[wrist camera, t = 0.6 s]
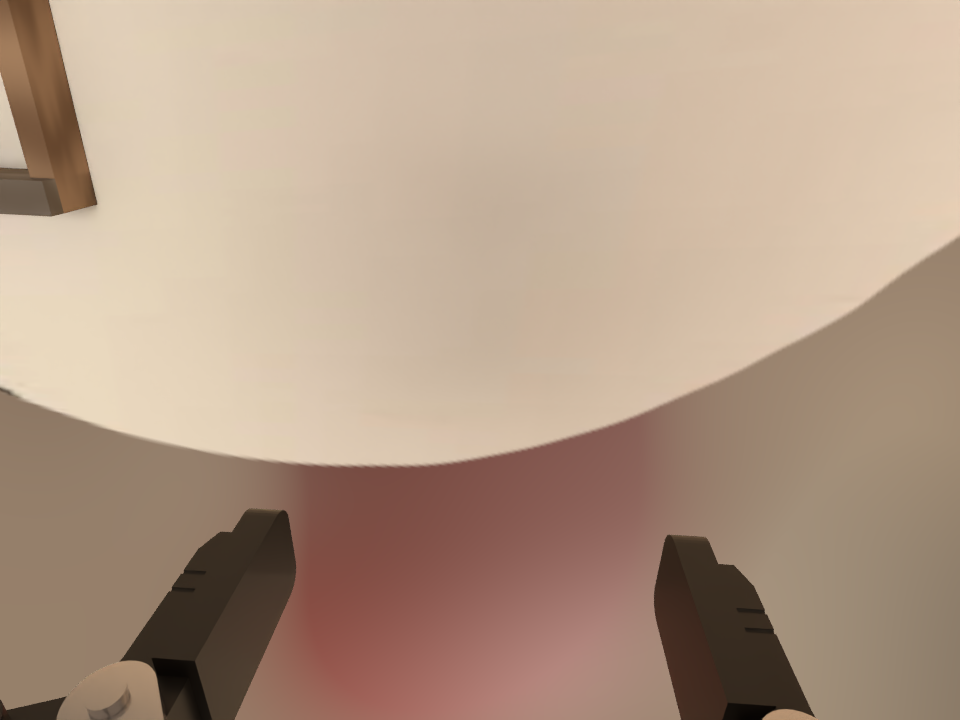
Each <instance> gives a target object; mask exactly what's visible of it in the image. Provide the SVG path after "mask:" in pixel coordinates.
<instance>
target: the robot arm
mask: <svg viewBox="0 0 960 720" xmlns="http://www.w3.org/2000/svg"><path fill="white" fill-rule="evenodd" d="M295 575H296V561H295V555H294V548H293V542H292V537H291V530H290V523H289V518H288V514H287V512H286V511H284V510H269V509H253V508H251V509H248V510H247V511H246V512H245V513H244V514H243V516H242V517H241V519H240V521H239V522H238V524H237V525H236V527H235V528H234V530H233V532H220V533H218V534H217V535H216V536H214V537H213V538H212V539H210V540H209V541H208V542H207V543H205V544H204V545H203V546H202V547H200V548H199V549H198V550H197V552H196V553H195V555H194V556H193V558H192V559H191V560H190V562H189V563H188V565H187V566H186V568H185V569H184V573H183V574H181V575H180V576H179V578H178V579H177V581H176V582H175V583H174V585H173V586H172V591H171V592H170V591H169V592H168V593H167V595H166V597H165V598H164V600H163V601H162V602H161V604H160V605H159V606H158V608H157V609H156V611H155V612H154V614H153V615H152V617H151V618H150V620H149V621H148V622H147V624H146V625H145V627H144V628H143V630H142V631H141V632H140V634H139V635H138V637H137V638H136V640H135V641H134V643H133V644H132V645H131V647H130V648H129V650H128V651H127V653H126V654H125V655H124V657H123V658H122V659H121V661H120V662H118V663H113V664H111V665H108V666H106V667H103V668H101V669H99V670H97V671H96V672H94V673H92V674H91V675H89V676H88V677H86V678H85V679H84V680H82V681H81V682H80V683H79V684H78V685H77V686H76V687H75V688H74V689H73V690H72V691H71V692H70V693H69V694H68V696H66V697H63V698H59V699H55V700H51V701H46V702H41V703H37V704H33V705H29V706H24V707H19V708H15V709H11V710H6V709H5V707H4V705H3V703H2V701H1V700H0V720H234V719H235V717H236V715H237V712H238V710H239V708H240V706H241V703H242V701H243V699H244V696H245V695H246V692H247V690H248V688H249V686H250V684H251V681H252V679H253V677H254V675H255V672H256V670H257V668H258V666H259V664H260V661H261V659H262V657H263V655H264V653H265V650H266V648H267V646H268V644H269V641H270V639H271V637H272V635H273V633H274V630H275V628H276V626H277V624H278V621H279V619H280V617H281V615H282V613H283V610H284V608H285V606H286V604H287V601H288V599H289V597H290V595H291V592H292V589H293V586H294V581H295ZM654 608H655V616H656V621H657V625H658V629H659V633H660V637H661V641H662V645H663V649H664V653H665V656H666V661H667V665H668V669H669V673H670V677H671V681H672V685H673V688H674V693H675V697H676V701H677V705H678V709H679V713H680V716H681V720H818V719H816V718H815V716H814V714H813V712H812V711H811V709H810V707H809V705H808V702H807V700H806V698H805V696H804V694H803V692H802V690H801V687H800V685H799V683H798V681H797V678H796V676H795V674H794V672H793V670H792V668H791V666H790V663H789V661H788V659H787V657H786V655H785V653H784V650H783V648H782V646H781V644H780V642H779V640H778V637H777V636H776V635H775V634H774V629H773V627H772V625H771V622H770V620H769V618H768V616H767V615H766V614H765V612H764V611H765V610H764V608H763V605H762V603H761V601H760V599H759V596H758V594H757V592H756V590H755V588H754V586H753V585H752V584H751V583H750V582H749V581H748V580H747V579H746V577H745V576H744V575H742V573H741V572H740V571H739V570H738V569H737V568H736V567H735V566H734V565H723V564H718V563H717V560H716V558H715V555H714V553H713V550H712V548H711V546H710V543H709V541H708V540H707V538H705V537H697V536H681V535H667V537H666V539H665V542H664V547H663V551H662V556H661V561H660V566H659V570H658V575H657V580H656V585H655V591H654Z"/></svg>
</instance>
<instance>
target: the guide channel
mask: <svg viewBox="0 0 960 720" xmlns="http://www.w3.org/2000/svg"><path fill="white" fill-rule="evenodd" d="M0 72H1V76H2V79H3V83H4V87H5V90H6V94H7V97H8V101H9V104H10V108H11V111H12V115H13V118H14V122H15V125H16V129H17V133H18V136H19V140H20V143H21V147H22V150H23V154H24V157H25V161H26V164H27V168H28V169H12V168H0V214H16V215H35V216H55V215H59V214H63V213H66V212H70V211H74V210H78V209H82V208H85V207H89V206H93V205H97V202H96V198H95V194H94V190H93V185H92V181H91V177H90V173H89V169H88V165H87V160H86V156H85V152H84V148H83V144H82V140H81V135H80V131H79V127H78V123H77V119H76V115H75V110H74V106H73V102H72V98H71V94H70V90H69V85H68V81H67V77H66V73H65V69H64V65H63V60H62V56H61V52H60V48H59V44H58V40H57V35H56V31H55V27H54V23H53V19H52V15H51V10H50V6H49V2H48V0H0Z"/></svg>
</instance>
